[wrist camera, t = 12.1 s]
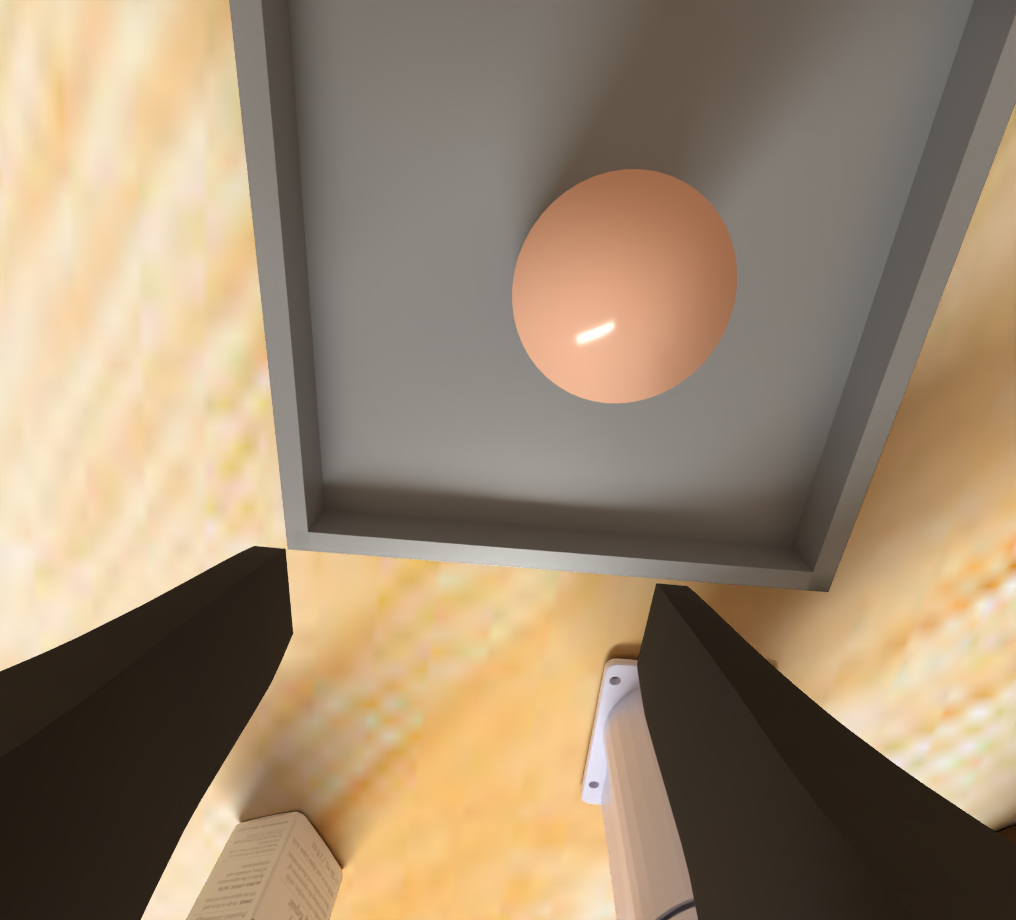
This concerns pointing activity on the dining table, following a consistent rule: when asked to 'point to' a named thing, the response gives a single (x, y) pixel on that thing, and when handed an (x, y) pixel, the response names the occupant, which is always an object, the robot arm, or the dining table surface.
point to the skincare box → (271, 874)
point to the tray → (518, 205)
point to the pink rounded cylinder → (624, 286)
